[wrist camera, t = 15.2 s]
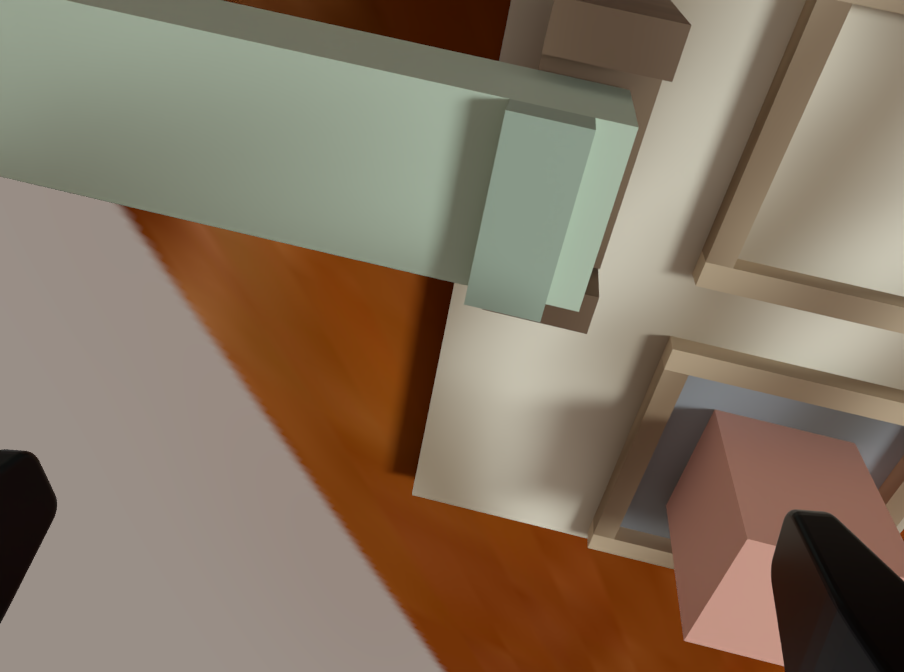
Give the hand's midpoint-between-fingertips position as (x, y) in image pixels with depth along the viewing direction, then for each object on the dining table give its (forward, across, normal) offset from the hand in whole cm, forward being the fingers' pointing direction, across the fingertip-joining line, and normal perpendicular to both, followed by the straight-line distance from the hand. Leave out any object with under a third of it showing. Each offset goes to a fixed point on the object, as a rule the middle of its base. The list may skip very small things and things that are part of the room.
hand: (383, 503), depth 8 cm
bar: (+6, +3, -3) cm, 8 cm away
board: (+13, -7, +4) cm, 15 cm away
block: (+12, -8, +10) cm, 17 cm away
